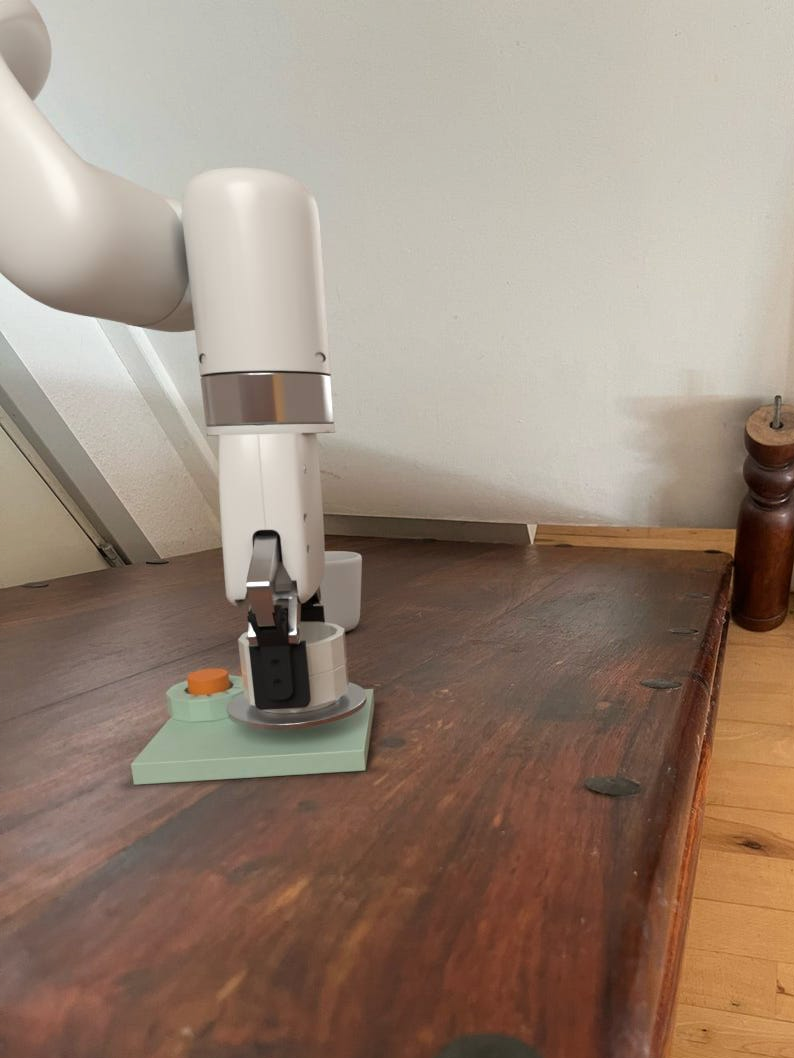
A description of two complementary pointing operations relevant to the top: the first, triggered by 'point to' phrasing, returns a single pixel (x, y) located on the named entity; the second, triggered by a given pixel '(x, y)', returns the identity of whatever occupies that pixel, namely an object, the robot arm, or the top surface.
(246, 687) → the bowl
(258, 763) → the scale
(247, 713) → the platter
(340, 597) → the cup
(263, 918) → the top surface
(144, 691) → the top surface
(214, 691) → the power button
